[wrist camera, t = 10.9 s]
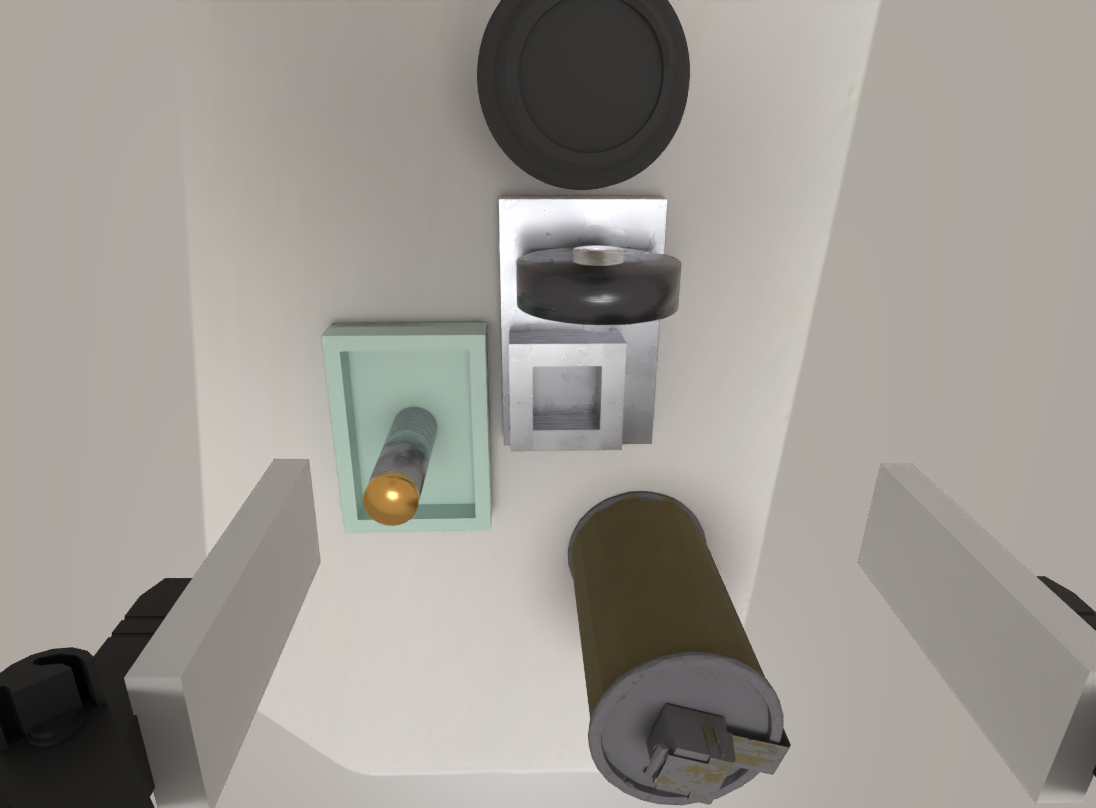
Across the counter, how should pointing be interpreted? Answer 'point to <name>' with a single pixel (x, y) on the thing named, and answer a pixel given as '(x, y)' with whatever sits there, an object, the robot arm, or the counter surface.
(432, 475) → the tray
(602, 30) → the coffee cup
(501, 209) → the tensioner
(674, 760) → the canister
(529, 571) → the counter surface
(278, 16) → the counter surface
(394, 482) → the lock pin
